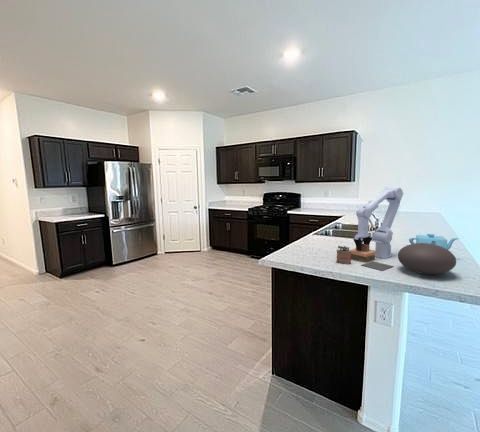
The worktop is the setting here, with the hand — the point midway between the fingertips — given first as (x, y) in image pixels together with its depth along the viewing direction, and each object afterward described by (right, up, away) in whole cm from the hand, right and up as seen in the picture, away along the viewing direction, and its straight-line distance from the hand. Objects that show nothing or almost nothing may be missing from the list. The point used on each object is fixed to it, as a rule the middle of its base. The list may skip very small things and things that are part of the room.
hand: (362, 249), depth 162 cm
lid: (0, -1, 0) cm, 1 cm away
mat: (+2, -8, -14) cm, 16 cm away
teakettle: (+43, -5, +1) cm, 44 cm away
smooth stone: (+20, -9, -25) cm, 34 cm away
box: (0, -6, +1) cm, 6 cm away
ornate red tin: (-14, -7, -7) cm, 17 cm away
